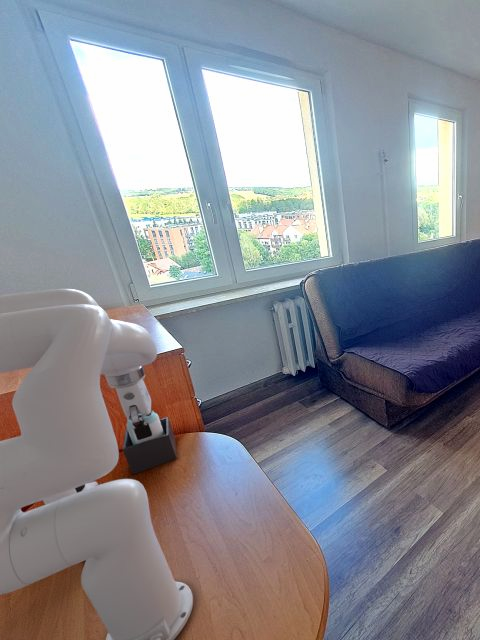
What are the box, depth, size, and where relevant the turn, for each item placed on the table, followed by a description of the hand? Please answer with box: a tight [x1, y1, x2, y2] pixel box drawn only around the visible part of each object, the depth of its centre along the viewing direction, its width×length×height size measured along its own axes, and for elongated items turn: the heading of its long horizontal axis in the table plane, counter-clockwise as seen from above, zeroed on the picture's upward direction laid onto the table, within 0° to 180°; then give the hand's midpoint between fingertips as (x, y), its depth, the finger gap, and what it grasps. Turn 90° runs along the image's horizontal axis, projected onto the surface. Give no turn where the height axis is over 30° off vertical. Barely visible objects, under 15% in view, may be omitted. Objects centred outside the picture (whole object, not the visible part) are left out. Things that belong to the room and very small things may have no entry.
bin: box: [122, 416, 178, 475], centre depth 97 cm, size 10×10×9 cm
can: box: [125, 409, 165, 445], centre depth 95 cm, size 7×7×12 cm
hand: (145, 429), depth 95 cm, fingers closed on can, 7 cm apart
